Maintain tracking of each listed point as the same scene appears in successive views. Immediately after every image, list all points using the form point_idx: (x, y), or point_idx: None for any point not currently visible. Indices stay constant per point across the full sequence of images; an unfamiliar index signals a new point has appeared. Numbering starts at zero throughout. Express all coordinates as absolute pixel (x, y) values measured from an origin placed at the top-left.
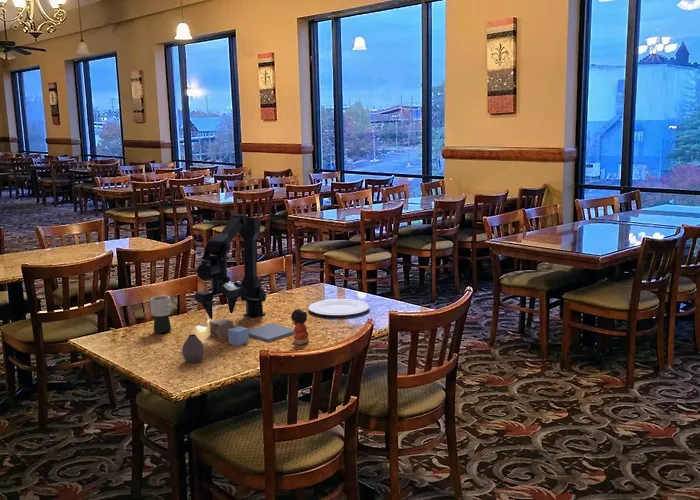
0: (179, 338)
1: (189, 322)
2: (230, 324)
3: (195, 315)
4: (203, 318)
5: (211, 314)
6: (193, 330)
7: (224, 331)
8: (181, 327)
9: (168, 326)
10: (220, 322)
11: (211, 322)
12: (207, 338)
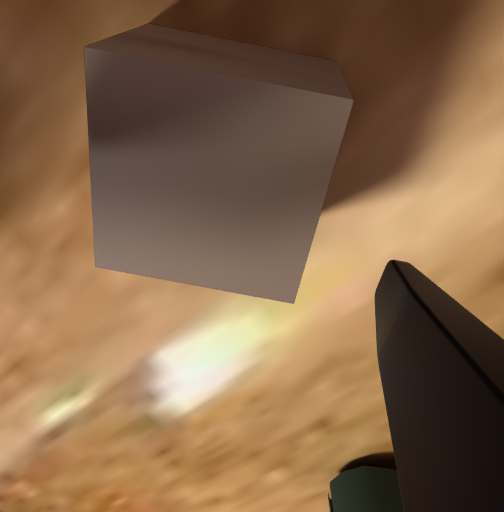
0: None
1: (160, 465)
2: (152, 52)
3: (55, 495)
4: (55, 450)
5: (443, 304)
6: (268, 380)
7: (274, 60)
8: (258, 454)
9: (387, 497)
10: (243, 181)
11: (300, 276)
12: (401, 175)
